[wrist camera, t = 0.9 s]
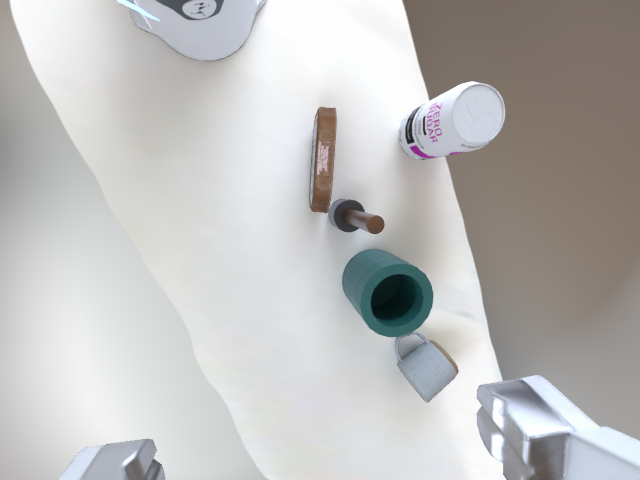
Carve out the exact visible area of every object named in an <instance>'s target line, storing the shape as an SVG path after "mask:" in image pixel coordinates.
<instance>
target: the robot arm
mask: <svg viewBox="0 0 640 480" xmlns="http://www.w3.org/2000/svg"><path fill="white" fill-rule="evenodd" d="M117 1H118V2H120V3H122V4H124V5H126V6H128V7H130V13H131V17H132V20H133V21H134V23H135V24H136V26H138V27H139V28H141V29H143V30H145V31H147V32H150V33H152V34H155V35H157V36H159V37H160V38H161V39H162V40H164V41H165V42H166V43H167V44H168V45H169V46H170V47H172V48H173V49H174V50H176V51H177V52H179V53H181V54H183V55H185V56H187V57H189V58H193V59H196V60H203V61H212V60H218V59H222V58H225V57H227V56H229V55H231V54H233V53H234V52H236V51H237V50H238V49H239V48H240V47H241V46H242V45H243V44H244V42H245V41H246V39H247V38H248V36H249V34H250V32H251V29H252V25H253V22H254V18H255V15H256V13H257V12H258V11H259V10H260V8H261V7H262V6H263V5H264V3H265V2H266V0H128V1H129V2H128V1H126V0H117ZM477 399H478V400H479V402H480V403H481V405H482V407H481V408H480V409H479V411H478V412H477V425H478V429H479V433H480V436H481V438H482V440H483V443H484V445H485V447H486V448H487V450H488V451H489V453H490V454H491V456H492V457H494V458H496V459H497V460H499V461H500V462H502V463H503V475H504V476H505V478H506V479H507V480H640V441H639V440H636V439H634V438H632V437H630V436H627V435H625V434H623V433H621V432H618V431H616V430H614V429H612V428H609V427H607V426H605V427H599V426H598V425H597V424H595V422H593V421H592V420H591V419H590V418H589V417H588V416H586V415H585V414H584V413H583V412H582V411H581V410H580V409H579V408H578V407H577V406H575V405H574V404H573V403H572V402H571V401H570V400H569V399H567V398H566V397H565V396H564V395H563V394H562V393H561V392H560V391H559V390H557V389H556V388H555V387H554V386H553V385H552V384H551V383H550V382H548V381H547V380H546V379H545V378H544V377H541V376H539V375H536V376H530V377H525V378H519V379H513V380H508V381H502V382H496V383H490V384H484V385H479V387H478V390H477ZM156 451H157V449H156V447H155V444H154V441H153V440H152V439H142V440H134V441H126V442H119V443H112V444H106V445H101V446H93V447H86V448H84V449H83V450H81V451H80V452H78V453H77V455H76V456H75V457H74V459H73V460H72V461H71V463H70V464H69V466H68V467H67V468H66V470H65V471H64V472H63V474H62V475H61V476H60V478H59V479H58V480H165V476H164V470H163V467H162V464H160V463H159V462H157V461H156V460H155V459H153V458H154V455H155V453H156Z"/></svg>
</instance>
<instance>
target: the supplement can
mask: <svg viewBox="0 0 640 480" xmlns="http://www.w3.org/2000/svg"><path fill="white" fill-rule="evenodd" d="M504 119H505V106H504V102H503V99H502V97H501V96H500V94H499V93H498V91H497V90H496V89H494V88H493V87H491V86H490V85H487V84H482V83H477V82H468V83H463V84H460V85H459V86H457V87H455V88H453V89H451V90H449V91H447V92H446V93H444V94H442V95H440V96H438V97H436V98H434V99H432V100H431V101H429V102H427V103H425V104H423V105H421V106H419V107H418V108H416V109H414V110H412V111H411V112H409V113H408V114H407V115H406V116H405V118H404V119H403V120H402V122H401V125H400V128H399V141H400V143H401V146H402V148H403V150H404V151H405V152H406V153H407V155H409V156H411V157H412V158H414V159H420V160H424V159H430V158H435V157H441V156H446V155H451V154H457V153H462V152H468V151H472V150H477V149H480V148H482V147H483V146H485V145H487V144H488V143H489V142H490V141H491V140H492V139H493V138H494V137H495V136H496V135H497V134H498V132H499V131H500V130H501V128H502V125H503V122H504Z"/></svg>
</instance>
